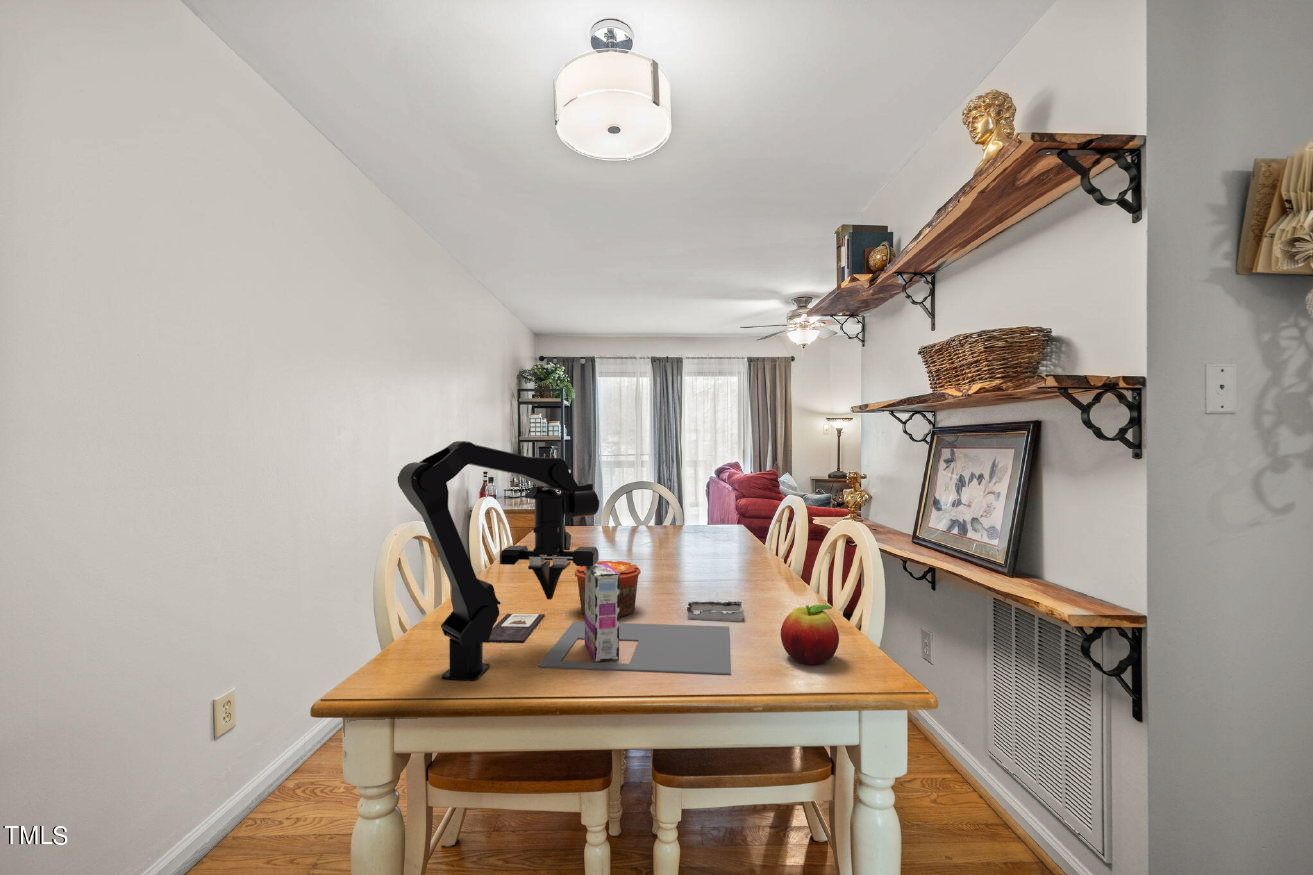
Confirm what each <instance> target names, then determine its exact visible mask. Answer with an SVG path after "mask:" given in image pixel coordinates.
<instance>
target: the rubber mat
mask: <svg viewBox="0 0 1313 875" xmlns="http://www.w3.org/2000/svg"><path fill="white" fill-rule="evenodd" d="M577 640H585V621H573V622H571V624H570V625H569V626H568V628H567V629H566V630H565V632H564V633H563V634H562V635H561V636H560V638H559V639H558V640H557V642H555V643H554V645H553V647H552V648H551V649H550V650H549V652H548V653H547V654H546V655H545V657H544V658H543V659H542V660H541V662H539V664H538V665H537V667H538V668H547V669H548V668H549V669H551V668H553V669H574V670H575V669H578V670H597V671H599V670H603V671H622V670H624V671H628V672H646V673H647V672H650V673H651V672H653V673H672V674H673V673H676V674H677V673H678V674H699V675H701V674H703V675H723V676H725V675H727V676H730V675H731V674H732V673H731V653H730V652H731V651H730V650H731V648H730V647H731V646H730V626H729V625H727V626H724V625H699V624H698V625H695V624H692V625H691V624H661V623H660V624H658V623H631V622H629V623H628V622H619V642H621V641H622V642H624V641H625V642H637V644H636V647H635V649H634V652H633V653H632V654H633V655H632V656H631V659H630V661H629V663H621V662H620V663H619V662H618V663H617V662H595V661H593V662H591V661H571V660H570V661H565V660H564V659H565V657H566V655H567V654H568V653H569V652H570V650H571V649H572V648H573V646H574V645H575V643H576V642H577Z"/></svg>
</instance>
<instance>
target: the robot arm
mask: <svg viewBox="0 0 1313 875" xmlns="http://www.w3.org/2000/svg"><path fill="white" fill-rule="evenodd" d="M468 465H469V466H474V467H479V468H484V469H489V470H494V471H498V472H503V473H506V474H507V473H508V474H513V475H516V476H519V477H520V478H522V479H523V480H526V481H528V482H530V483H532V484H535V485H536V486H534V485H533V486H532V487H531V488H530V490H529V491H528V492H526V493H525V494H524V498H525V499H528V500H534V527H533V529H532V530H533V531H532V532H533V534H534V548H533V550H530V549H529V548H528V545H509V546H507V547H505V548H504V549H502V550H501V551H500V554H499V565H503V566H504V565H507V566H508V565H509V566H514V565H516V564H517V563H518V562H519V561H523V560H524V561H529V565H528V566H527V569H528V570H531V571H532V572H533V574H534V575H535V577H536V578H537V580H538V582H539V584H540V586H541V588H542V591H543V592H544V595H545V597H546V599H547V600H549V601H550V600H552V599H553V598H554V594H555V592H556V588H557V586H558V582H559V580H560V577H561V575H562V572H563V571H565V570H566V569H567V568H568V567H569V566H570V565H571V563H573V564H574V565H575V566H576V567H580V566H593V565H594V564H595V563H596V562H598V561H600V560H599V556H600V555H599V554H600V553H599V550H598V548H597V547H596V546H578V547H577V548H575V549H574V550H571V542H572V541H571V540H572V535H571V534H570V533H569V532H568V531H567V530H566V523H565V517H566V518H568V519H574V518H582V517H583V518H584V517H590V516H595V515H596V514H597V513H598V511H599V508H600V500H599V497H598V495H597V493H596V490H595V489H594V484H593V483H588V482H587V483H581V484H578V483H577V482H576V480H575V478H574V477H573V475H572V474H571V472H570V470H569V466H568V463H567V461H566V460H565V459H564V458H561V457H552V456H551V457H546V456H545V457H543V456H526V455H522V454H518V453H515V452H510V451H504V450H501V449H496V448H492V447H488V446H483V445H479V444H476V443H473V442H471V441H464V440H456V441H454V442H452V443H450V444H449V445H447V446H446V447H444V448H443V449H441V450H439V451H437V452H435V453H433V454H431V455H429V456H427V457H425V458H424V459H422V460H420V461H418V462H417V461H416V462H410V463H407V464H406V465H404V466H403V467H402V468H401V469H400V471H399V473H398V476H397V480H396V481H397V483H398V487H399V489H401V492H402V493H403V495H404V496H405V497H406V499H407V501H408V502H409V503H410V504H411V505H412V507H413V508H414V509H415V510H416V511H417V513H419V515H420V516H421V518H422V519H423V520H422V521H423V522H424V524H425V527H426V529H427V532H428V534H429V537H430V538H431V541H432V543H433V547H434V548H435V550H436V553H437V555H438V557H439V560H440V562H441V564H442V567H443V570H444V572H445V574H446V577H447V578H448V582H449V584H450V587H451V588H450V589H451V590H450V591H451V592H450V593H451V595H450V601H451V605H452V607H451V608H452V611H451V612H450V614H449V615H448V616H447V617H446V618H445V620H444V621H443V622H442V623H441V625H440V628H441V630H442V633H443V635H444V636H445V637H448V638H449V640H448V643H449V644H448V646H449V647H448V648H449V651H448V652H449V654H448V659H449V662H448V663H449V666H448V667H449V668H448V669H447V670H446V671H445V672H444V673H442V674H441V675H440V676H441V679H442V680H443V679H445V680H462V681H463V680H464V681H465V680H466V681H476V680H478V679H479V678H480V677H481V676H482V675H483V674H484V673H485V672H486V671H487V670H488V669H489V668H490V667H491V664H490V663H485V662H484V657H483V656H484V652H483V651H484V648H483V647H484V646H483V645H484V643H488V642H487V641H489V638H490V635H491V632H492V629H493V627H494V626H495V625H496V624H497V620H498V618H499V617H500V608H499V605H501V604H502V603H501V601H499V600H498V598H497V596H496V591H495V587H494V585H493V584H492V583H490V582H487V581H485V580H481V579H480V578H477V575H476V573H475V571H474V568H473V566H472V563H471V560H470V558H469V555H468V553H467V551H466V548H465V546H464V543H463V541H462V539H461V537H460V534H459V531H458V529H457V526H456V523H455V522H454V519H453V517H452V514H451V512H450V509H449V493H450V492H449V489H448V484H447V483H448V482H449V481H451V480H452V479H454V478H455V477H456V476H457V475H458V474H459V473H460V472H461V471H462V470H463V469H464V468H465V467H466V466H468ZM540 486H543V487H547V489H542V488H541V487H540ZM557 491H560V492H557ZM551 561H552V563H553V564H551ZM571 561H572V562H571Z"/></svg>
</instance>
